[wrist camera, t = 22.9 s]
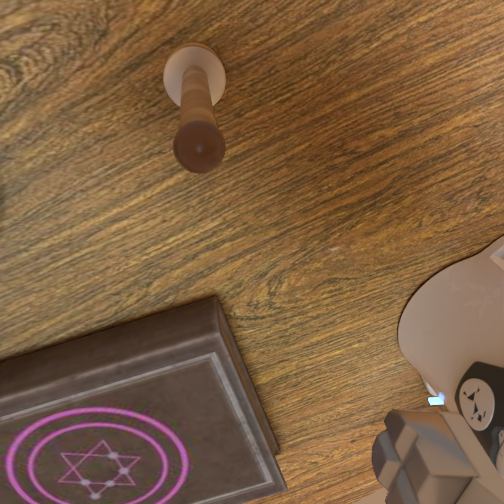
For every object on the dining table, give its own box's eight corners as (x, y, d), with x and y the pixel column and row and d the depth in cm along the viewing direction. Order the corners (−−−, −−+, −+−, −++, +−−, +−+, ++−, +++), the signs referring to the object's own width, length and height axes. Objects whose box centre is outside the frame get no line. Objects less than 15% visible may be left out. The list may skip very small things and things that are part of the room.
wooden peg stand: (236, 70, 32) (276, 147, 17) (199, 116, 33) (208, 224, 19) (188, 28, 30) (189, 73, 16) (152, 78, 32) (121, 163, 17)
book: (20, 524, 53) (5, 572, 49) (-113, 392, 42) (-147, 439, 38) (279, 448, 52) (287, 491, 48) (215, 291, 41) (218, 327, 36)
